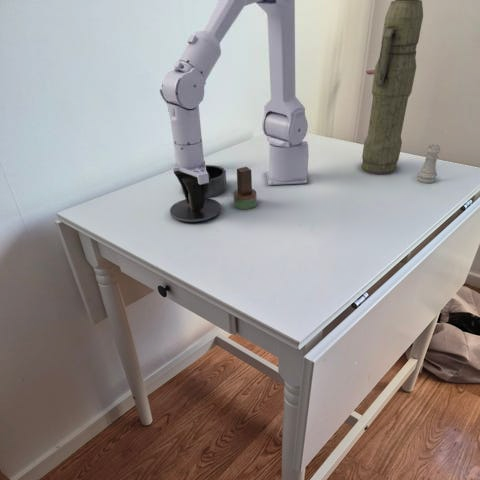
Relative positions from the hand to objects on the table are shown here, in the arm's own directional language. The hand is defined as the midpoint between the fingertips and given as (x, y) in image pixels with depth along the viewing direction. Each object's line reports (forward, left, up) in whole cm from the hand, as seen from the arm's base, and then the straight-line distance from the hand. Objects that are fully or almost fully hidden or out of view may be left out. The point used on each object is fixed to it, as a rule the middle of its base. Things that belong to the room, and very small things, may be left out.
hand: (195, 205), depth 93 cm
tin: (-2, -13, -2) cm, 13 cm away
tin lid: (0, 0, -1) cm, 1 cm away
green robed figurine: (-46, -21, -2) cm, 51 cm away
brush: (-11, -3, -2) cm, 11 cm away
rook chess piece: (-55, -12, -2) cm, 56 cm away
